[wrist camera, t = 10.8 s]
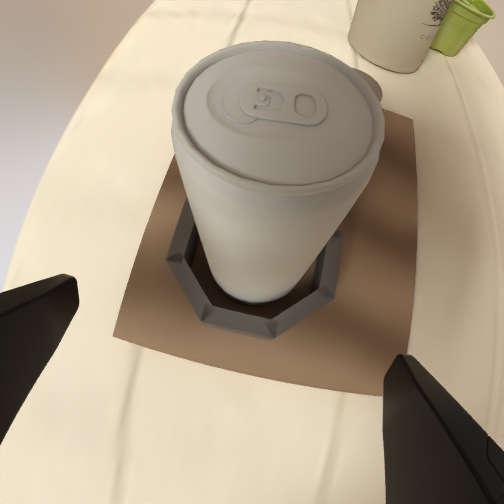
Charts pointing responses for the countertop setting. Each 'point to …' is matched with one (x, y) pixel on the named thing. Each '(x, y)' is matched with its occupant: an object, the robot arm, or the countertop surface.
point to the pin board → (299, 298)
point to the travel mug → (396, 31)
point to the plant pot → (461, 25)
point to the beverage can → (272, 159)
